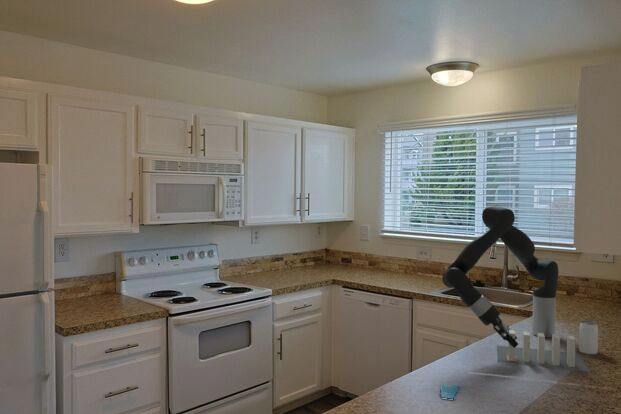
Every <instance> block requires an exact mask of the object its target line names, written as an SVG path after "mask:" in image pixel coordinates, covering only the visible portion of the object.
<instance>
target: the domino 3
mask: <svg viewBox="0 0 621 414" xmlns="http://www.w3.org/2000/svg"><path fill="white" fill-rule="evenodd" d="M536 344H537V347H536V349H537V360H538V363H540V364H544V358H545V350H546V349H545V348H546V345H545V344H546V337H545V336H544V333H538V336H537V343H536Z"/></svg>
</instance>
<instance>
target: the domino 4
mask: <svg viewBox="0 0 621 414" xmlns="http://www.w3.org/2000/svg"><path fill="white" fill-rule="evenodd" d="M551 344H552V345H551V351H552V363H553V365H559V364H560V352H561V337H560V335H559V334H556V333H555V334H552V337H551Z"/></svg>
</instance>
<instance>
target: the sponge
mask: <svg viewBox="0 0 621 414" xmlns="http://www.w3.org/2000/svg"><path fill="white" fill-rule="evenodd" d="M441 385H442V389H441V388H440V390H441V391H440V390H439V396H440V395H441V397H440V398H441V399H442V398H447V399H453V400H454V398H455V396H456V397H457V395H456V393H457V394H458V392H459V390H458V389H460V386H459V385H455V384H451V383H450V384H449V383H448V384H447V383H442V384H441ZM457 391H458V392H457ZM455 399H456V398H455ZM454 401H455V400H454Z"/></svg>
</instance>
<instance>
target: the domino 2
mask: <svg viewBox="0 0 621 414" xmlns="http://www.w3.org/2000/svg"><path fill="white" fill-rule="evenodd" d="M522 334H523V335H522V348H523V361H524V362H530V349H531V333H530V332H529V331H523V333H522Z"/></svg>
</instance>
